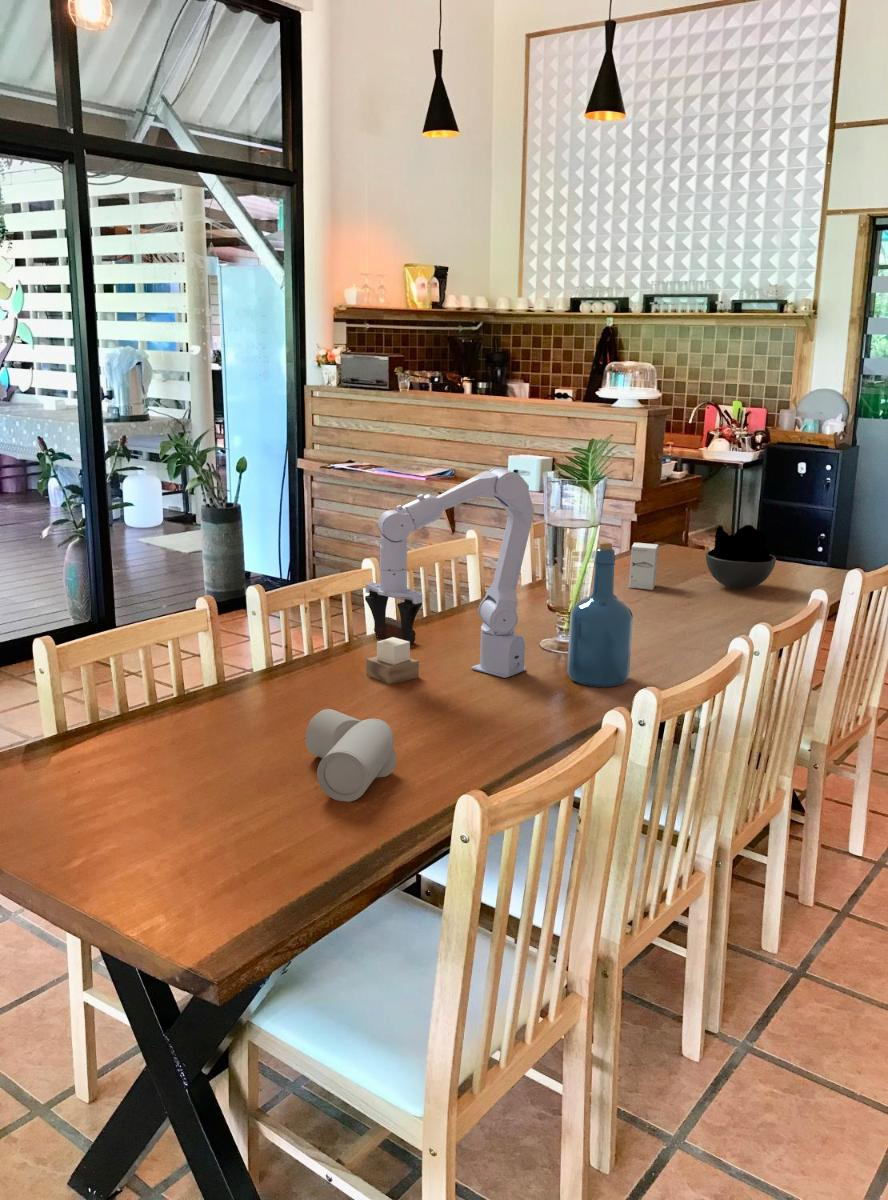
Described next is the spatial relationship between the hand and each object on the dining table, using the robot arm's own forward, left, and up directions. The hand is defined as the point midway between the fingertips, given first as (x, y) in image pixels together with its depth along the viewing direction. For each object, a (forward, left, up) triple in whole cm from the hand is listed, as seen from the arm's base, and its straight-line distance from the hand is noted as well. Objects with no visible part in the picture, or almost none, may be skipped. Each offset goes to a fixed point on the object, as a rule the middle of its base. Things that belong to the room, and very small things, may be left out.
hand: (393, 630), depth 220 cm
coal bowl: (-19, -130, -10) cm, 132 cm away
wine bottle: (-33, -29, -10) cm, 46 cm away
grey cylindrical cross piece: (-30, +44, -11) cm, 54 cm away
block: (0, 0, -6) cm, 6 cm away
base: (0, 0, -10) cm, 11 cm away
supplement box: (+3, -112, -10) cm, 113 cm away
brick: (+18, -20, -11) cm, 29 cm away
